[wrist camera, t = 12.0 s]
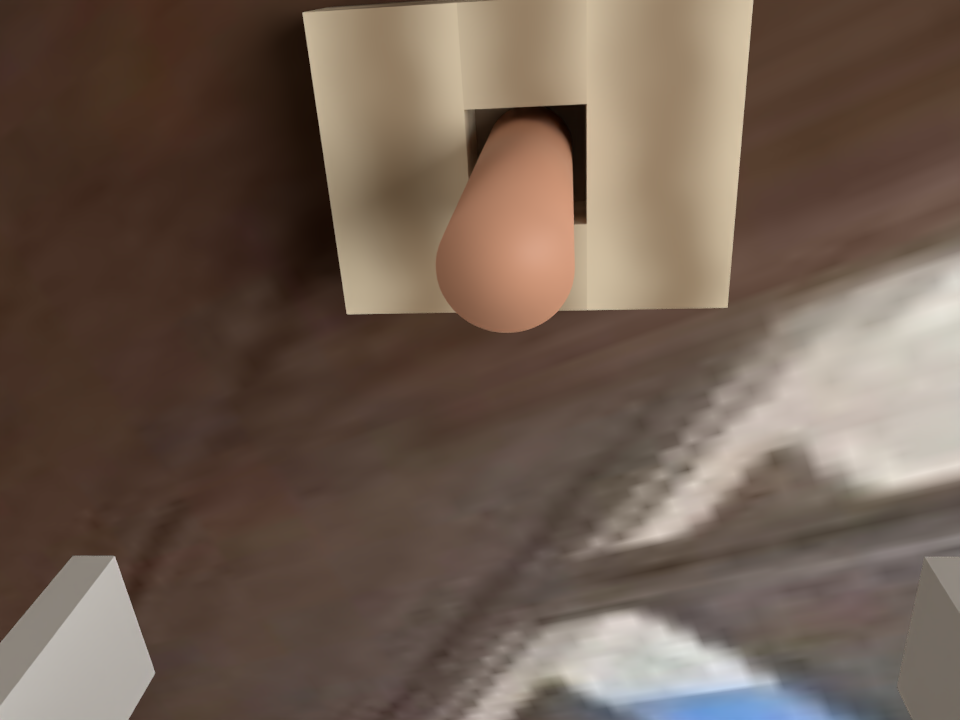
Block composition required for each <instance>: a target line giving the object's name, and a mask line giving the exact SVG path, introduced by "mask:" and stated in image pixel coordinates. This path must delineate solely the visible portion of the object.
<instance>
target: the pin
mask: <svg viewBox="0 0 960 720" xmlns="http://www.w3.org/2000/svg"><path fill="white" fill-rule="evenodd" d="M574 274H575V252H574V208H573V163H572V140H571V135H570V133H569V130H568V128H567V126H566V124H565V123H564V121H563V120H562V119H561V118H560V117H559V116H558V115H557V114H556V113H554V112H553V111H551V110H550V109H547V108H545V107H542V106H533V107H515V108H513V109H511V110H509V111H507V112H506V113H505V114H503V115H502V116H501V117H500V118H499V119H498V120H497V122H496V123H495V124H494V126H493V128H492V130H491V132H490V134H489V136H488V139H487V141H486V143H485V145H484V147H483V150H482V152H481V154H480V156H479V158H478V160H477V163H476V165H475V167H474V169H473V171H472V173H471V176H470V178H469V180H468V182H467V184H466V187H465V189H464V191H463V193H462V195H461V197H460V200H459V202H458V204H457V206H456V208H455V211H454V213H453V215H452V217H451V219H450V221H449V224H448V226H447V228H446V230H445V232H444V234H443V237H442V239H441V241H440V244H439V247H438V251H437V255H436V275H437V281H438V284H439V287H440V290H441V292H442V294H443V296H444V298H445V299H446V301H447V302H448V304H449V305H450V306H451V308H452V309H453V310H454V311H455V312H456V313H457V314H458V315H459V316H461V317H462V318H463V319H465V320H466V321H468V322H469V323H471V324H473V325H475V326H477V327H480V328H482V329H485V330H489V331H493V332H500V333H512V332H520V331H525V330H528V329H531V328H534V327H536V326H538V325H540V324H542V323H544V322H545V321H547V320H548V319H550V318H551V317H552V316H553V315H554V314H555V313H556V312H557V311H558V310H559V309H560V308H561V307H562V305H563V304H564V302H565V301H566V299H567V297H568V295H569V293H570V291H571V288H572V285H573V280H574Z"/></svg>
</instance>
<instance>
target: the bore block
mask: <svg viewBox="0 0 960 720" xmlns="http://www.w3.org/2000/svg"><path fill="white" fill-rule="evenodd" d="M752 9H753V0H424V1H408V2H392V3H377V4H361V5H345V6H333V7H328V8H323V9H317V10H312V11H307V12H302V13H303V20H304V27H305V34H306V41H307V47H308V54H309V61H310V68H311V75H312V81H313V88H314V95H315V102H316V108H317V115H318V122H319V129H320V136H321V142H322V149H323V156H324V163H325V170H326V176H327V183H328V190H329V197H330V204H331V210H332V217H333V224H334V231H335V238H336V244H337V251H338V258H339V265H340V272H341V278H342V285H343V292H344V299H345V305H346V312H347V314H394V313H452V312H455V311H454V310H453V309H452V308H451V306H450V305H449V304H448V302H447V301H446V299H445V298H444V296H443V294H442V292H441V290H440V287H439V284H438V281H437V275H436V255H437V251H438V247H439V244H440V241H441V239H442V237H443V234H444V232H445V230H446V228H447V226H448V224H449V221H450V219H451V217H452V215H453V213H454V211H455V208H456V206H457V204H458V202H459V200H460V197H461V195H462V193H463V191H464V189H465V187H466V184H467V182H468V180H469V178H470V176H471V173H472V171H473V169H474V167H475V165H476V163H477V160H478V158H479V156H480V154H481V152H482V150H483V147H484V145H485V143H486V141H487V139H488V136H489V134H490V132H491V130H492V128H493V126H494V124H495V123H496V122H497V120H498V119H499V118H500V117H501V116H502V115H503V114H505V113H506V112H507V111H509V110H511V109H513V108H515V107H533V106H542V107H545V108H547V109H550V110H551V111H553V112H554V113H556V114H557V115H558V116H559V117H560V118H561V119H562V120H563V121H564V123H565V124H566V126H567V128H568V130H569V133H570V135H571V140H572V163H573V208H574V252H575V274H574V280H573V285H572V288H571V291H570V293H569V295H568V297H567V299H566V301H565V302H564V304H563V305H562V307H561V308H560V309H559V310H558V311H567V310H625V309H683V308H727V307H728V295H729V283H730V271H731V259H732V247H733V235H734V223H735V211H736V199H737V187H738V176H739V164H740V152H741V140H742V128H743V116H744V104H745V92H746V80H747V68H748V56H749V44H750V32H751V21H752Z"/></svg>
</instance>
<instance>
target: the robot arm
mask: <svg viewBox="0 0 960 720" xmlns="http://www.w3.org/2000/svg"><path fill="white" fill-rule="evenodd" d="M154 674H155V671H154V668H153V665H152V662H151V659H150V656H149V654H148V651H147V648H146V645H145V642H144V639H143V636H142V633H141V631H140V628H139V625H138V622H137V619H136V616H135V613H134V610H133V607H132V605H131V602H130V599H129V596H128V593H127V590H126V587H125V584H124V581H123V579H122V576H121V573H120V570H119V567H118V564H117V561H116V558H115V556H72V558H71V559H70V560H69V561H68V562H67V564H66V565H65V566H64V567H63V568H62V570H61V571H60V572H59V573H58V574H57V576H56V577H55V578H54V579H53V580H52V582H51V583H50V584H49V585H48V586H47V588H46V589H45V590H44V591H43V592H42V594H41V595H40V596H39V597H38V598H37V600H36V601H35V602H34V603H33V604H32V606H31V607H30V608H29V609H28V610H27V611H26V613H25V614H24V615H23V616H22V617H21V619H20V620H19V621H18V622H17V623H16V625H15V626H14V627H13V628H12V629H11V631H10V632H9V633H8V634H7V635H6V637H5V638H4V639H3V640H2V641H1V643H0V720H128V719H129V718H130V716H131V714H132V712H133V711H134V709H135V707H136V705H137V704H138V702H139V700H140V698H141V697H142V695H143V693H144V692H145V690H146V688H147V686H148V685H149V683H150V681H151V679H152V678H153V676H154ZM897 688H898V691H899V693H900V695H901V697H902V699H903V701H904V703H905V705H906V708H907V710H908V712H909V714H910V716H911V718H912V720H960V557H924V562H923V566H922V571H921V576H920V580H919V585H918V590H917V595H916V599H915V604H914V609H913V613H912V618H911V623H910V628H909V632H908V637H907V642H906V647H905V651H904V656H903V661H902V665H901V670H900V675H899V680H898V684H897Z"/></svg>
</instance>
